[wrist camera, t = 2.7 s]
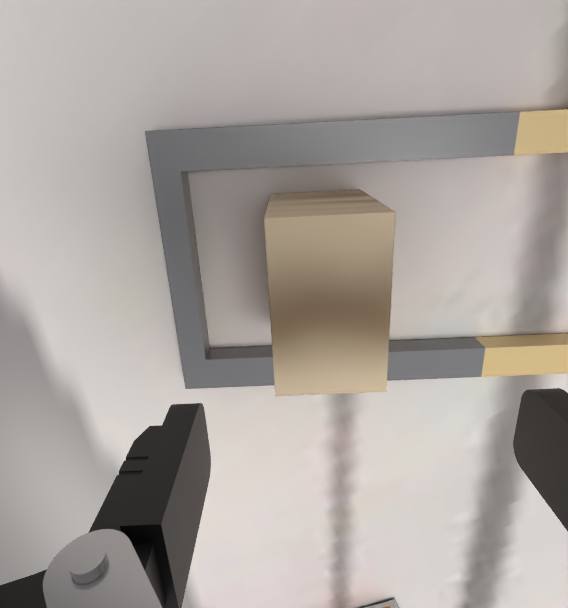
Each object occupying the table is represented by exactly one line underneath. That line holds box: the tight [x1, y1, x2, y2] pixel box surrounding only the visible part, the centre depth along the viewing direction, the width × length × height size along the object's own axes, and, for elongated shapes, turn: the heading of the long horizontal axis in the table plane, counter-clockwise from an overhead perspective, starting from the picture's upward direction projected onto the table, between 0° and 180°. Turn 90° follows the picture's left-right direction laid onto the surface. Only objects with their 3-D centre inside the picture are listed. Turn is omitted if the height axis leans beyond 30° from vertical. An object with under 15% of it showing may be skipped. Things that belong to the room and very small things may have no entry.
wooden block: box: [264, 189, 395, 396], centre depth 21 cm, size 8×5×8 cm, turn 3°
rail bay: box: [145, 109, 568, 389], centre depth 24 cm, size 15×28×2 cm, turn 93°
